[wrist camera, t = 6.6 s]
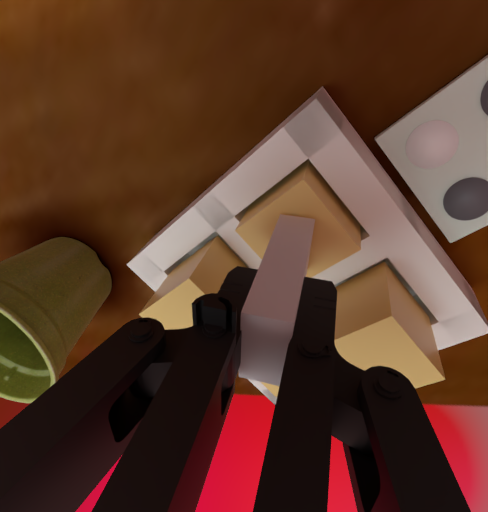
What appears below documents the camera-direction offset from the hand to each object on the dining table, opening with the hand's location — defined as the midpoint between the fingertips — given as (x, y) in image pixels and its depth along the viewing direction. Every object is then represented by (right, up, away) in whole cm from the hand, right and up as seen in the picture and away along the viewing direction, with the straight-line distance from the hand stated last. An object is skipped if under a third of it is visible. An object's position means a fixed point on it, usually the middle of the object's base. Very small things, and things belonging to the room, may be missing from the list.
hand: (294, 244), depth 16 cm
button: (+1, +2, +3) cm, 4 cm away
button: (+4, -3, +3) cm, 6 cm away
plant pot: (-15, -1, +12) cm, 20 cm away
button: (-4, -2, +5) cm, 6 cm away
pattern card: (+9, +5, +1) cm, 10 cm away
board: (+1, -1, +7) cm, 7 cm away
